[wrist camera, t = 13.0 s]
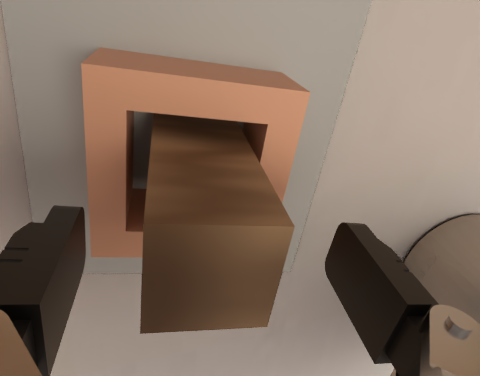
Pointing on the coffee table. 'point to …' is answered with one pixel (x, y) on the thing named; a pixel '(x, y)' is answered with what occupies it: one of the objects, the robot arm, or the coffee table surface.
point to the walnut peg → (209, 230)
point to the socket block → (171, 98)
